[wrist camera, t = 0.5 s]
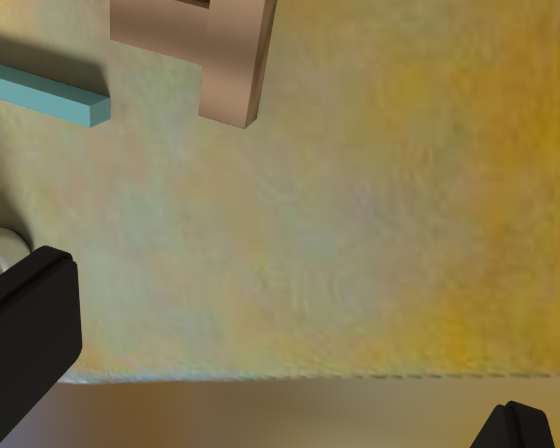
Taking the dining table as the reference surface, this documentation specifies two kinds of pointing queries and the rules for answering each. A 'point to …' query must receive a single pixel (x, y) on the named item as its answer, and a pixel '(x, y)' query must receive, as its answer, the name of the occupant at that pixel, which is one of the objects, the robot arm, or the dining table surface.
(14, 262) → the plastic bottle
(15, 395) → the robot arm
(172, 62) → the dining table surface
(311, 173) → the dining table surface
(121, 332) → the dining table surface
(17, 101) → the teal corral
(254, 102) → the walnut T-block
